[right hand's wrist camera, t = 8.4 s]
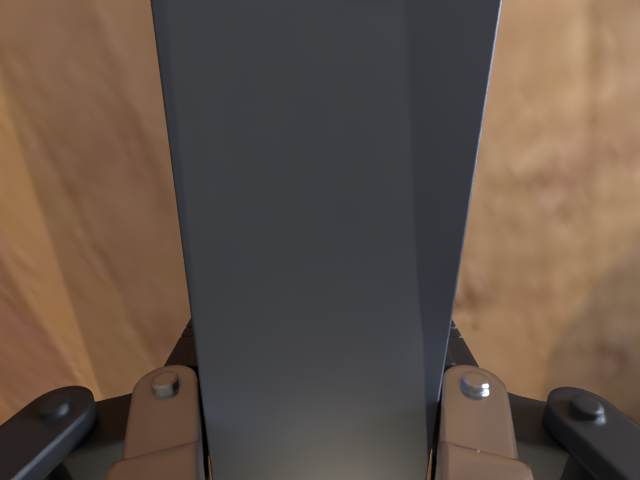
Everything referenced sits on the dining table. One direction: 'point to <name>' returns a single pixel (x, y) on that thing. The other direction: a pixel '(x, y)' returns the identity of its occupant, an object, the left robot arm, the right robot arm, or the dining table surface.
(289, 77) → the bar
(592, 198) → the dining table surface
